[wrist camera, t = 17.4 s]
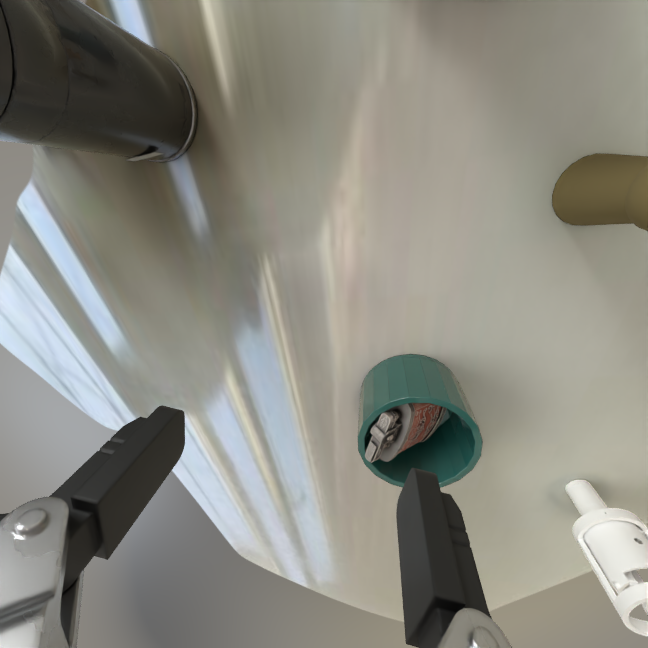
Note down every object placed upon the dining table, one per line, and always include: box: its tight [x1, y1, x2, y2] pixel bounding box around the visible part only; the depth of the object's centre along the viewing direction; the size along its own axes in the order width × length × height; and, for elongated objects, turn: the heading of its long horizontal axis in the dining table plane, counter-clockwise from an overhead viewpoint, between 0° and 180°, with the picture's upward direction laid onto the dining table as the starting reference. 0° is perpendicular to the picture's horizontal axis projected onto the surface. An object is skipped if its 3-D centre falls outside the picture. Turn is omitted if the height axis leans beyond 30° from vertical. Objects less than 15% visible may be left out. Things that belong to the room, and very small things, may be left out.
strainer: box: [565, 480, 648, 637], centre depth 35 cm, size 7×7×15 cm
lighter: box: [365, 403, 446, 463], centre depth 35 cm, size 8×3×10 cm
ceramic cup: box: [358, 354, 483, 487], centre depth 36 cm, size 12×12×8 cm
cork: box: [552, 154, 648, 231], centre depth 23 cm, size 6×6×11 cm
